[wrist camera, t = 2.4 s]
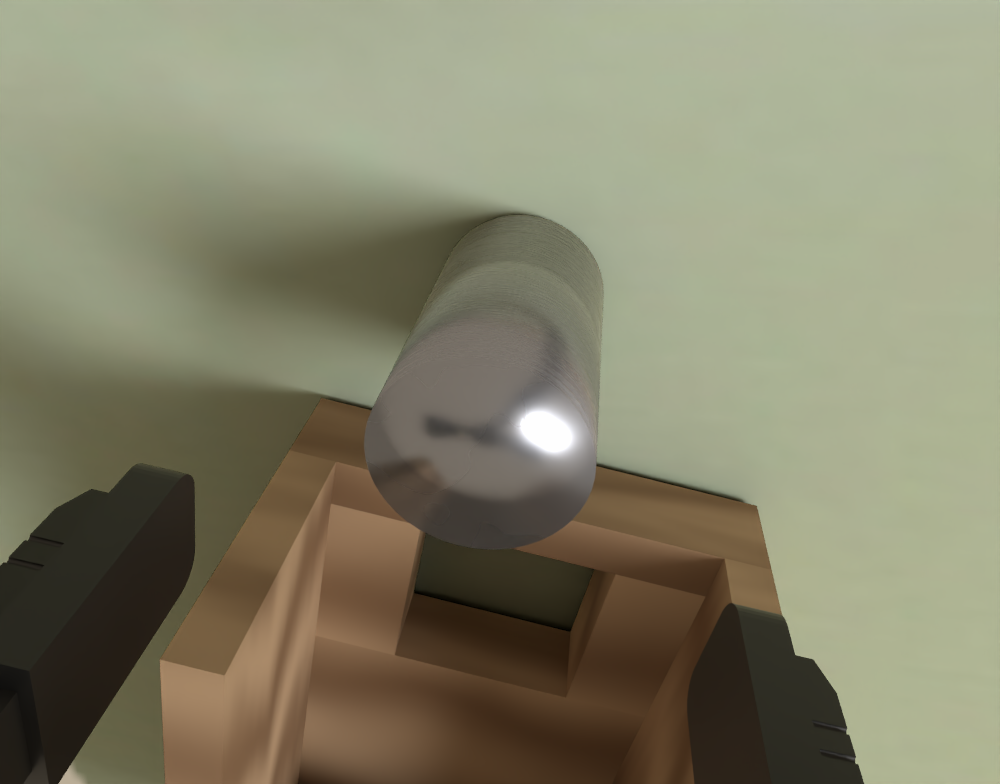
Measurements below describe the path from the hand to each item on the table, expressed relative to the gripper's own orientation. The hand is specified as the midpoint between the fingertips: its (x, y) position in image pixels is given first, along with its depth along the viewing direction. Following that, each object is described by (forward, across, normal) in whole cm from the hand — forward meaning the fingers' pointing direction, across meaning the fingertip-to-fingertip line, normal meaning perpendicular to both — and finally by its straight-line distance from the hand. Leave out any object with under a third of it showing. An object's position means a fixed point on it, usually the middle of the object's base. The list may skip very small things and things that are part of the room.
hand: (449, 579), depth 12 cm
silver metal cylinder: (+9, 0, -1) cm, 9 cm away
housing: (+10, -1, +15) cm, 18 cm away
